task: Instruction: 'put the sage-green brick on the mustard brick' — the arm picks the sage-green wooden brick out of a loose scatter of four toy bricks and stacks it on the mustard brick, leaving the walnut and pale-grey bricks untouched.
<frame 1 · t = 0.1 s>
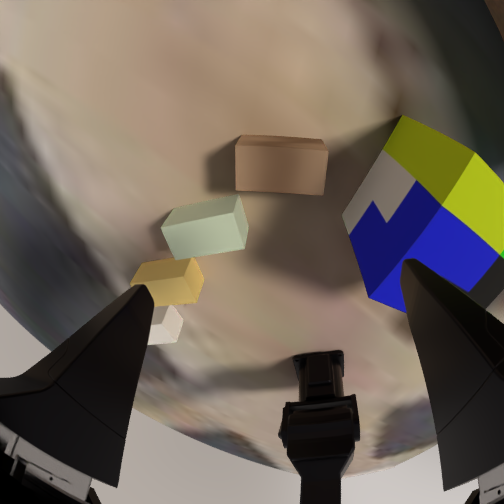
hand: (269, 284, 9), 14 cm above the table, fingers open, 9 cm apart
puzzle toy: (415, 193, 22), on the table
sage brick: (211, 216, 25), on the table
grey brick: (157, 313, 33), on the table
mustard brick: (172, 270, 29), on the table
walnut brick: (281, 155, 21), on the table
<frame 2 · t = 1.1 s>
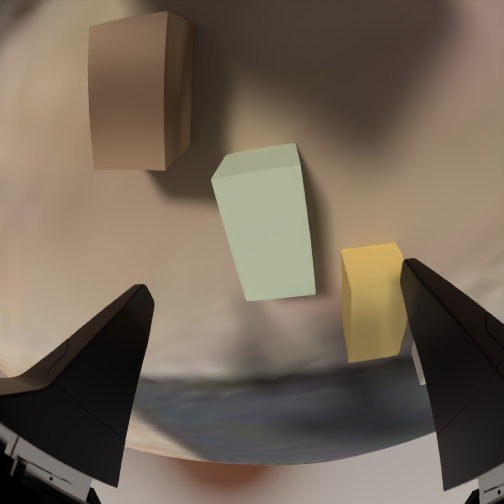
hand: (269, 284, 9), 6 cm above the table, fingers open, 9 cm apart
sage brick: (272, 204, 14), on the table
mustard brick: (366, 285, 17), on the table
walnut brick: (159, 86, 11), on the table
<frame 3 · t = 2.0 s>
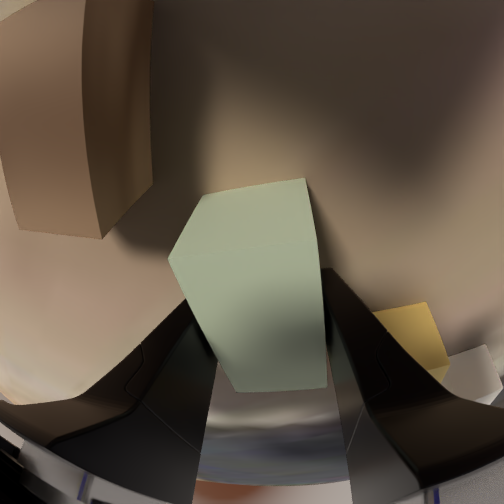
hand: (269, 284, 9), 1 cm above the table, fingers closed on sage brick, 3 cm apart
sage brick: (270, 262, 10), on the table, touching gripper
grey brick: (453, 373, 14), on the table
mustard brick: (386, 346, 13), on the table
walnut brick: (107, 96, 7), on the table
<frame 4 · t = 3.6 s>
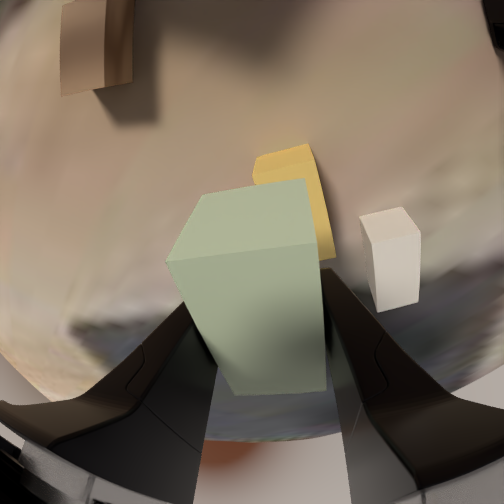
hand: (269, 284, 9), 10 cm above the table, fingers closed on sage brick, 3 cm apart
sage brick: (270, 264, 10), point 9 cm above the table, touching gripper
grey brick: (384, 245, 20), on the table
mustard brick: (295, 193, 18), on the table
walnut brick: (112, 43, 13), on the table
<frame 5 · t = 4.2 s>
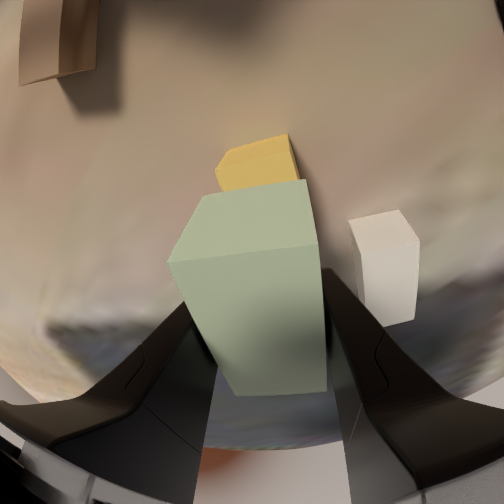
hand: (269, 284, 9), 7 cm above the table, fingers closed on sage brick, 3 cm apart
sage brick: (270, 265, 10), point 6 cm above the table, touching gripper
grey brick: (377, 254, 17), on the table
mustard brick: (273, 191, 16), on the table
walnut brick: (77, 28, 10), on the table
when the fingers open (6 cm above the table, at t = 4.7 s): sage brick drops 1 cm, resting on mustard brick.
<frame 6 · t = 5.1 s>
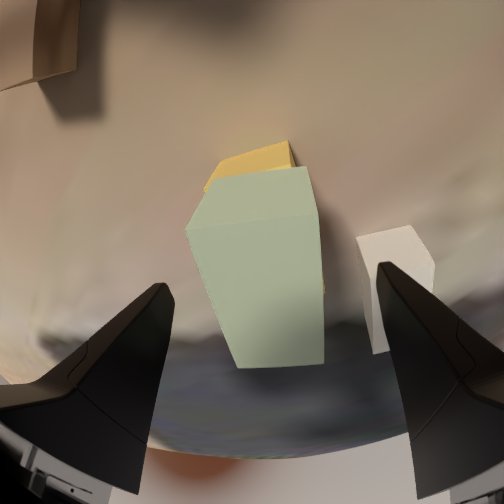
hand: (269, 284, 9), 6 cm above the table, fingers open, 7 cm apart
sage brick: (272, 245, 11), point 3 cm above the table, touching mustard brick
grey brick: (385, 272, 16), on the table
mustard brick: (273, 206, 14), on the table, touching sage brick
walnut brick: (58, 26, 9), on the table
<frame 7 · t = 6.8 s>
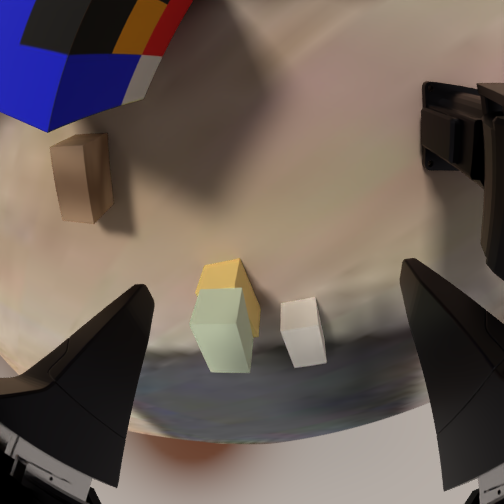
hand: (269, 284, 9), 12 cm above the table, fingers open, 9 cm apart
puzzle toy: (116, 19, 13), on the table
sage brick: (228, 316, 23), point 3 cm above the table, touching mustard brick
grey brick: (303, 320, 28), on the table
mustard brick: (233, 287, 26), on the table, touching sage brick
walnut brick: (94, 168, 20), on the table
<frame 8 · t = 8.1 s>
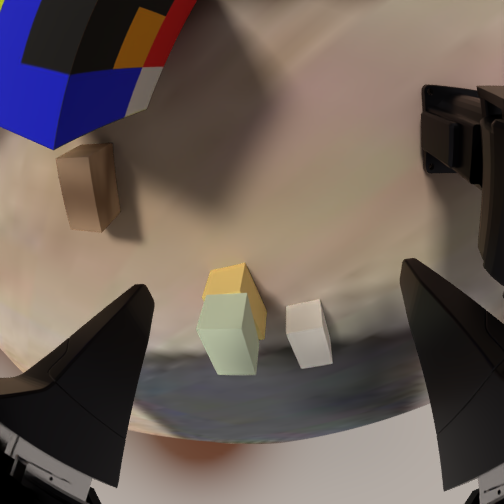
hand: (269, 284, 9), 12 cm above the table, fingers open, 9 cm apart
puzzle toy: (116, 29, 14), on the table
sage brick: (234, 320, 23), point 3 cm above the table, touching mustard brick
grey brick: (309, 321, 28), on the table
mustard brick: (240, 291, 26), on the table, touching sage brick
walnut brick: (101, 177, 21), on the table
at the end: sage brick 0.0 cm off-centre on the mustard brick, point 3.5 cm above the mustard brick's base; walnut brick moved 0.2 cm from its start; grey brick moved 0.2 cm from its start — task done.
